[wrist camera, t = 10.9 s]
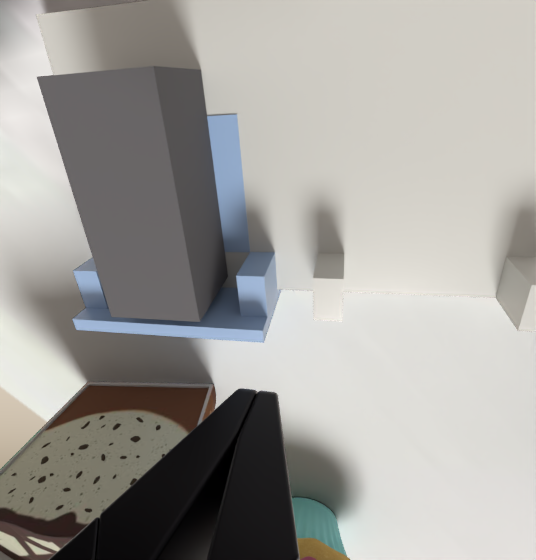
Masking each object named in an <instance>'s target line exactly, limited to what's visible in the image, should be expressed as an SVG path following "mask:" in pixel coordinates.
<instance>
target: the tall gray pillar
mask: <svg viewBox="0 0 536 560" xmlns="http://www.w3.org/2000/svg"><path fill="white" fill-rule="evenodd" d="M37 79H38V82H39V86H40V89H41V92H42V95H43V98H44V102H45V105H46V108H47V111H48V115H49V118H50V121H51V124H52V127H53V131H54V134H55V137H56V140H57V143H58V147H59V150H60V153H61V156H62V159H63V163H64V166H65V169H66V172H67V176H68V179H69V182H70V185H71V188H72V192H73V195H74V198H75V201H76V204H77V208H78V211H79V214H80V217H81V220H82V224H83V227H84V230H85V233H86V237H87V240H88V243H89V246H90V249H91V253H92V256H93V259H94V262H95V265H96V269H97V272H98V275H99V278H100V281H101V285H102V288H103V291H104V294H105V298H106V301H107V304H108V307H109V310H110V314H111V317H122V318H139V319H157V320H174V321H192V322H200V321H201V319H202V318H203V316H204V315H205V313H206V311H207V310H208V308H209V307H210V305H211V303H212V302H213V300H214V299H215V297H216V295H217V294H218V292H219V291H220V289H221V287H222V286H223V284H224V283H225V281H226V279H227V278H228V272H227V265H226V257H225V250H224V242H223V234H222V227H221V219H220V211H219V204H218V196H217V188H216V181H215V173H214V165H213V158H212V150H211V143H210V135H209V127H208V120H207V112H206V104H205V97H204V89H203V81H202V74H201V70H198V69H186V68H173V67H160V66H148V67H137V68H126V69H115V70H105V71H94V72H83V73H73V74H62V75H51V76H40V77H37Z"/></svg>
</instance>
